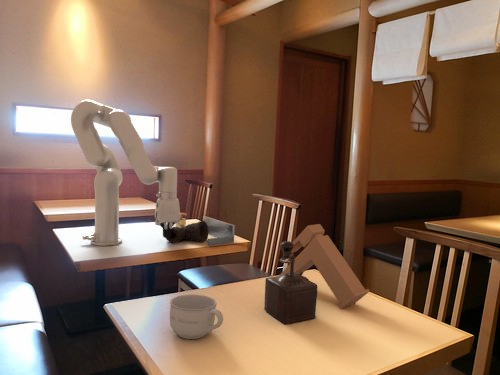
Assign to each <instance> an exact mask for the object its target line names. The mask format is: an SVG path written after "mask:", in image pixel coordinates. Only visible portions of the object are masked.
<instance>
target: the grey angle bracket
mask: <svg viewBox="0 0 500 375" xmlns="http://www.w3.org/2000/svg"><path fill="white" fill-rule="evenodd" d="M202 221H205V222H206V223H207V226H208V236H209V235H210V236H212V237H210V238H207V246H208V247H212V246H221V245H226V244H234V243H235V232H236V231H235V229H236V225H235V224H232V223H228V222H225V221H221V220H218V219H216V218H212V217H209V216H205V215H204V216H202Z"/></svg>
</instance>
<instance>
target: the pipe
mask: <svg viewBox="0 0 500 375" xmlns="http://www.w3.org/2000/svg"><path fill="white" fill-rule="evenodd" d="M183 239H186V240H187V241H188V240H189V241H192V242H200V243H205V242H206V241H208V239H209V234H208V226H207V223H206V222H205V221H203V220H200V221H198V222H192V223H190V224H189V223H188V224H186V226H184V227H180V228H179V227H176V226H172V229H171V235H170V238H165V240H167V241H168V242H170V243H172V244H173V243H178V242H180V241H181V240H183Z"/></svg>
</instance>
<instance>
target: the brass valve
mask: <svg viewBox="0 0 500 375" xmlns="http://www.w3.org/2000/svg"><path fill="white" fill-rule="evenodd" d="M187 215H188V214H187V213H186V212H180V220H179V222H178V223H177V224H175V227H179V228H180V227H184V226H187V218H185V216H187Z"/></svg>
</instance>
